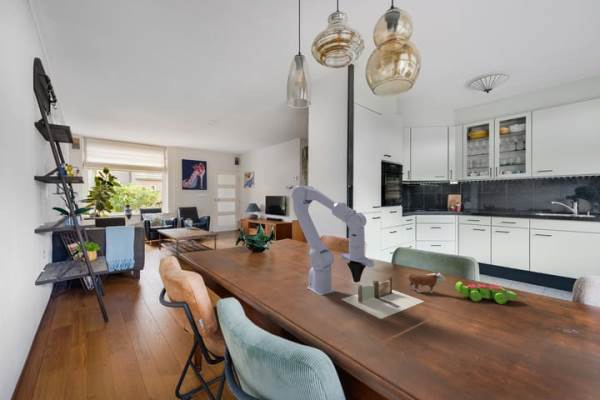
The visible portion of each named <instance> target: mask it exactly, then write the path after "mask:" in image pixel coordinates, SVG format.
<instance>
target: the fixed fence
mask: <svg viewBox="0 0 600 400" xmlns="http://www.w3.org/2000/svg"><path fill="white" fill-rule="evenodd" d="M372 285H374V298H379V296H381V295H384V294H387V293H392V290H393V277H391V276H388V278H387V280H383V281H380V282H379V280H373V281H372Z"/></svg>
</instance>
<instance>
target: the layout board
mask: <svg viewBox="0 0 600 400" xmlns="http://www.w3.org/2000/svg"><path fill="white" fill-rule="evenodd" d="M341 301H344V302H345V303H347V304H350V305H351V306H353V307H354V308H355V307H356V308H358V309H360V310H362V311H364V312H365V313H367V314H369V315H371V316H374V317H375V318H377V319H380V320H382V319H384V318H388V317H390V316H393V315H394V314H397V313H399V312H401V311H404V310H407V309H409V308H411V307H414V306H417V305H419V304H421V303H422V304H423V303H424V302H425V300H422V299H419V298H416V297H413V296H411V295H408V294H406V293H402V292H399V291H397V290H394V289H392V293H387V294H384V295H381V296H379V298H372V299H369V300H366V301H363V302H358V293H357V294H354V295H351V296H346V297H344V298H341Z"/></svg>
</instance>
